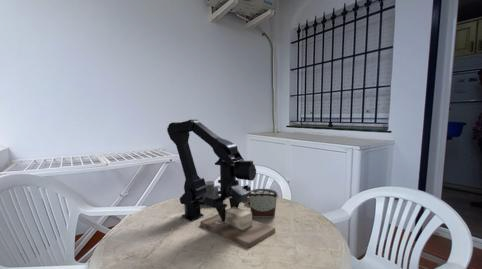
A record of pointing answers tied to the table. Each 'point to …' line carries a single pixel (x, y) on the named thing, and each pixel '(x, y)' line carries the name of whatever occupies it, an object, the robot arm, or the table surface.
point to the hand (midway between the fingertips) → (228, 218)
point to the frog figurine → (245, 203)
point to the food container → (263, 202)
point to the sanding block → (238, 218)
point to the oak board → (241, 237)
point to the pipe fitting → (211, 190)
